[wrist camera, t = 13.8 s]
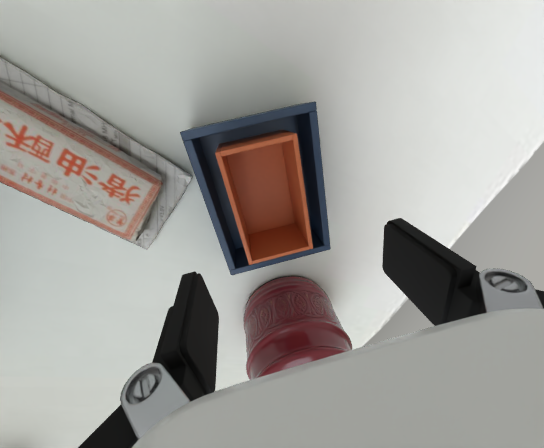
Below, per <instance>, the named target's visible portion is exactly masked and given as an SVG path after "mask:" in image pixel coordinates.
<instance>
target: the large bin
mask: <svg viewBox="0 0 544 448" xmlns="http://www.w3.org/2000/svg"><path fill="white" fill-rule="evenodd" d="M316 110H317V108H316V102H309V103H303V104H298V105H293V106H289V107H284V108H280V109H275V110H271V111H267V112H262V113H258V114H253V115H249V116H245V117H240V118H236V119H231V120H227V121H222V122H218V123H214V124H209V125H205V126H200V127H196V128H192V129H188V130H185V131H182V132H180V134H181V137H182V139H183V141H184V145H185V148H186V151H187V153H188V156H189V159H190V162H191V165H192V167H193V170H194V173H195V176H196V179H197V181H198V184H199V187H200V190H201V192H202V195H203V198H204V201H205V204H206V206H207V209H208V212H209V215H210V218H211V220H212V223H213V226H214V229H215V232H216V234H217V237H218V240H219V243H220V245H221V248H222V251H223V254H224V257H225V259H226V262H227V265H228V268H229V270H230V273H231V275H235V274H238V273H242V272H246V271H250V270H254V269H257V268H261V267H265V266H269V265H273V264H276V263H280V262H284V261H288V260H292V259H295V258H299V257H303V256H307V255H311V254H314V253H318V252H322V251H326V250H330V239H329V229H328V219H327V209H326V199H325V189H324V179H323V169H322V159H321V148H320V138H319V128H318V118H317V111H316ZM277 130H286V131H289V132H292V133H296V134H297V137H298V145H299V152H300V159H301V166H302V173H303V180H304V187H305V194H306V201H307V209H308V216H309V223H310V230H311V237H312V244H313V249H309V250H305V251H301V252H297V253H293V254H290V255H286V256H282V257H278V258H274V259H271V260H267V261H263V262H259V263H255V264H251V265H249V263H248V259H247V256H246V253H245V250H244V246H243V243H242V240H241V236H240V233H239V230H238V227H237V223H236V220H235V217H234V213H233V210H232V207H231V204H230V200H229V197H228V194H227V190H226V187H225V184H224V181H223V177H222V174H221V171H220V168H219V164H218V161H217V158H216V154H215V152H216V150H217V148H218V145H219V144H221V143H225V142H230V141H234V140H238V139H243V138H247V137H251V136H256V135H260V134H264V133H269V132H273V131H277Z"/></svg>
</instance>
